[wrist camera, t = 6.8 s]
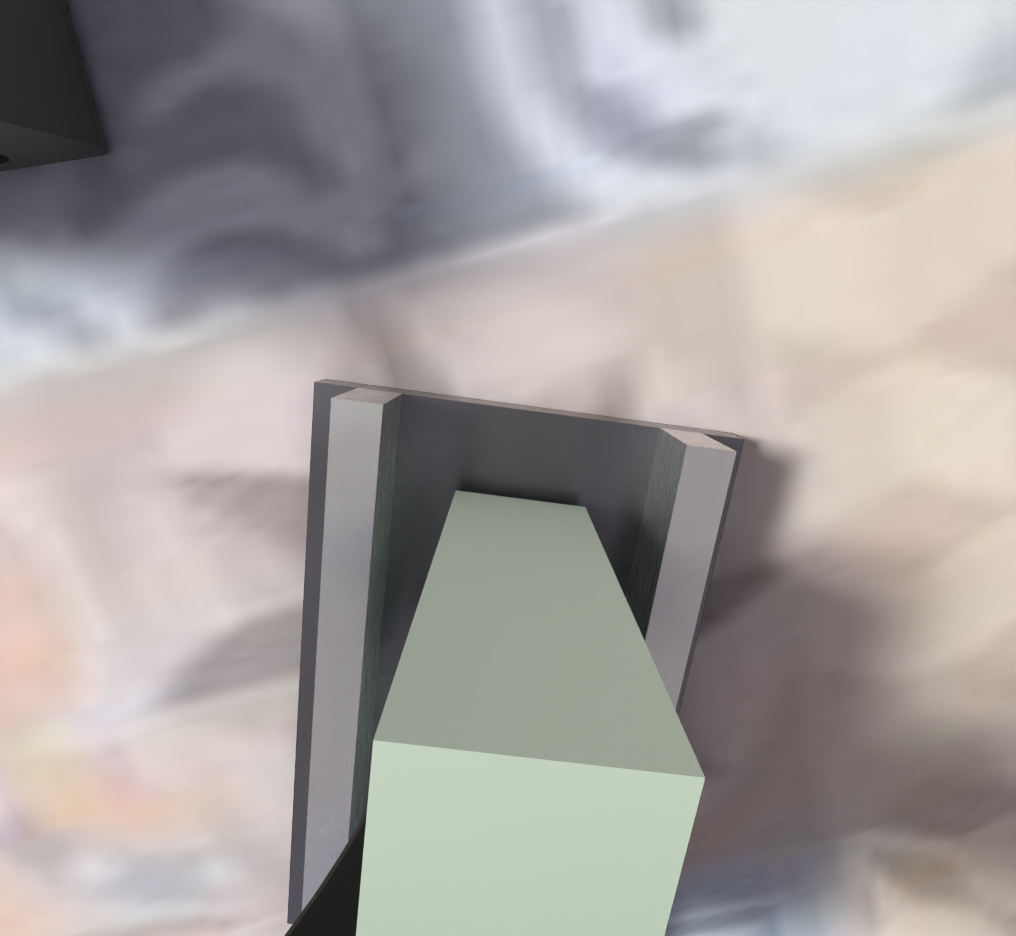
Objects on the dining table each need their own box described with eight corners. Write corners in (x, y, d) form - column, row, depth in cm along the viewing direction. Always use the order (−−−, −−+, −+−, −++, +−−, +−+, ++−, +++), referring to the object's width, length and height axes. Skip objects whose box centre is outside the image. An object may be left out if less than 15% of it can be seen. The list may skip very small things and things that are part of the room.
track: (731, 433, 14) (785, 457, 11) (615, 929, 17) (635, 1039, 15) (325, 379, 13) (279, 391, 11) (297, 896, 17) (258, 1002, 14)
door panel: (514, 911, 16) (521, 1486, 8) (408, 899, 16) (308, 1469, 8) (584, 506, 13) (705, 776, 5) (455, 490, 13) (372, 741, 5)
